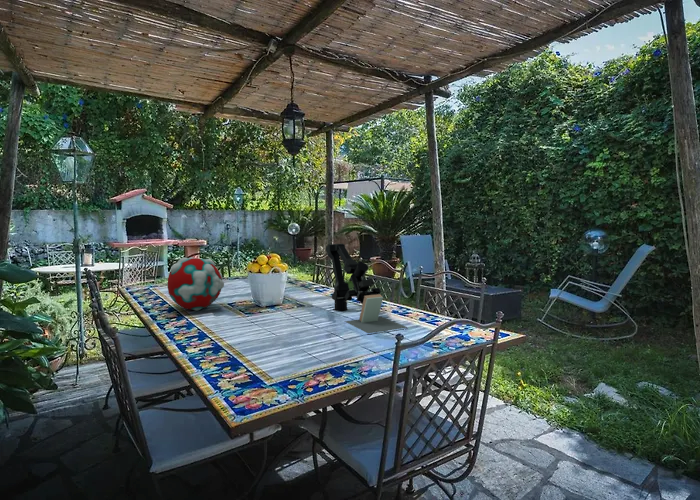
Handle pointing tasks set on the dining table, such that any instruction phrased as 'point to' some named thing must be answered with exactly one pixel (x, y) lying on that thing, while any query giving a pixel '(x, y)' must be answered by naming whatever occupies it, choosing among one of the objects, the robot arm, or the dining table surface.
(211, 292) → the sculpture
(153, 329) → the dining table surface
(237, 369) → the dining table surface
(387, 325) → the mat
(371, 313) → the tile
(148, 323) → the dining table surface
